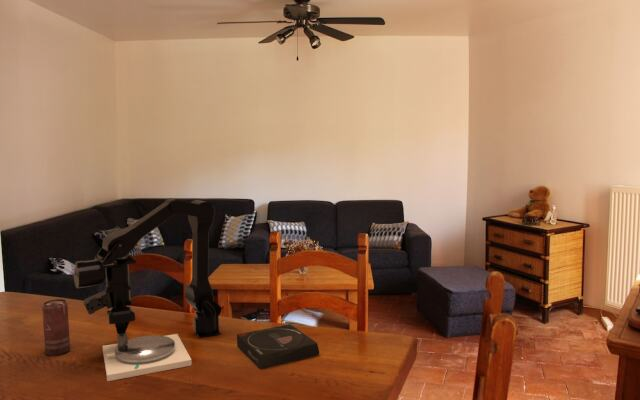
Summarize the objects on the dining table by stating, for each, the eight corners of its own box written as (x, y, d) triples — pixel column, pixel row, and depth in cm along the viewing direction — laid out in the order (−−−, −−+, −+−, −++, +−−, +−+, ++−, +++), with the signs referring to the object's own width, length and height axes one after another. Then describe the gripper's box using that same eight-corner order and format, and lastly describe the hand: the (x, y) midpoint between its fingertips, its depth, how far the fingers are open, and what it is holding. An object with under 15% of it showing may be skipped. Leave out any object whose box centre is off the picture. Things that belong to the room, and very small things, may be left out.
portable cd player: (319, 356, 138) (319, 342, 137) (259, 371, 129) (259, 355, 129) (292, 336, 152) (292, 323, 152) (237, 348, 144) (236, 334, 143)
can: (60, 357, 137) (57, 306, 136) (40, 355, 139) (36, 304, 137) (76, 348, 143) (73, 299, 142) (55, 346, 145) (52, 297, 143)
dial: (169, 337, 146) (169, 317, 146) (179, 356, 133) (178, 335, 132) (105, 347, 139) (103, 327, 138) (108, 369, 125) (107, 347, 125)
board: (177, 338, 150) (177, 333, 150) (191, 365, 132) (191, 359, 132) (102, 351, 141) (102, 345, 141) (107, 381, 123) (106, 374, 123)
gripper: (84, 277, 142) (87, 331, 144) (85, 295, 125) (89, 356, 127) (127, 272, 147) (129, 325, 149) (133, 289, 130) (136, 348, 132)
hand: (120, 338), depth 139 cm, fingers closed
